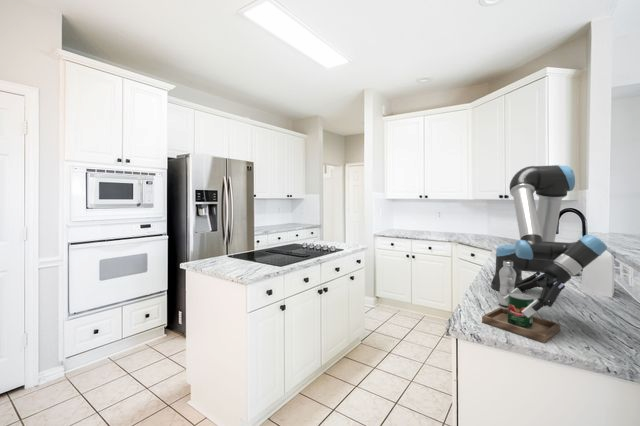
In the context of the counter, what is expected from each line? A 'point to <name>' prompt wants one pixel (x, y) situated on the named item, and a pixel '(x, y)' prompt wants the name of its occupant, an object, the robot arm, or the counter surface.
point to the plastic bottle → (506, 281)
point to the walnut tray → (538, 332)
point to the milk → (599, 276)
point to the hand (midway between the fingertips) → (514, 307)
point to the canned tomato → (519, 310)
